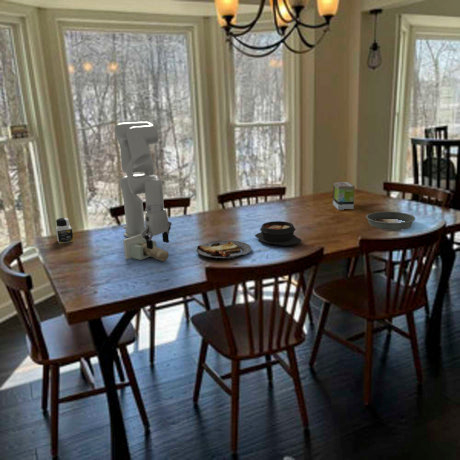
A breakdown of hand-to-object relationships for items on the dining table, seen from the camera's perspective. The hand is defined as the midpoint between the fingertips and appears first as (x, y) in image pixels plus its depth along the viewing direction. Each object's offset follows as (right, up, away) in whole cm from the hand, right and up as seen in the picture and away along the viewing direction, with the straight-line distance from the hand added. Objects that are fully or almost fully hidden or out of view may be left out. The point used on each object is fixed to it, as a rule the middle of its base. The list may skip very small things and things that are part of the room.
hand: (158, 245), depth 198 cm
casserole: (+55, +1, +20) cm, 59 cm away
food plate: (+29, -4, +8) cm, 30 cm away
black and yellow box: (-53, +1, +35) cm, 64 cm away
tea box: (+102, +21, +82) cm, 132 cm away
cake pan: (+117, +9, +41) cm, 124 cm away
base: (-11, -5, +9) cm, 15 cm away
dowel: (-3, -5, +3) cm, 7 cm away
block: (-7, -5, +7) cm, 12 cm away
